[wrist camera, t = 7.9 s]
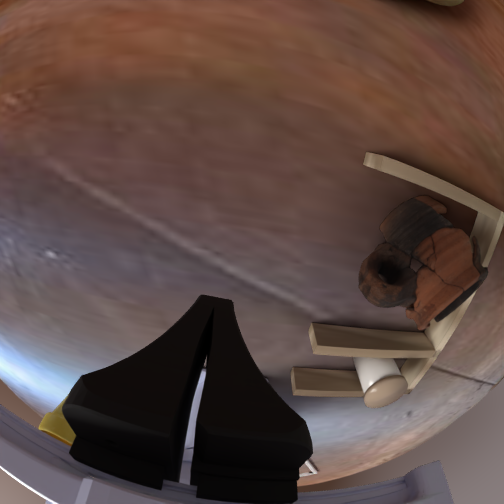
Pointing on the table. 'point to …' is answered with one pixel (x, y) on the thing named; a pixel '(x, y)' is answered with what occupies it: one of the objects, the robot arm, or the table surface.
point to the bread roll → (447, 2)
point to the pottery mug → (430, 255)
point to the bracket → (395, 342)
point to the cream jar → (380, 380)
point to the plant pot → (58, 426)
